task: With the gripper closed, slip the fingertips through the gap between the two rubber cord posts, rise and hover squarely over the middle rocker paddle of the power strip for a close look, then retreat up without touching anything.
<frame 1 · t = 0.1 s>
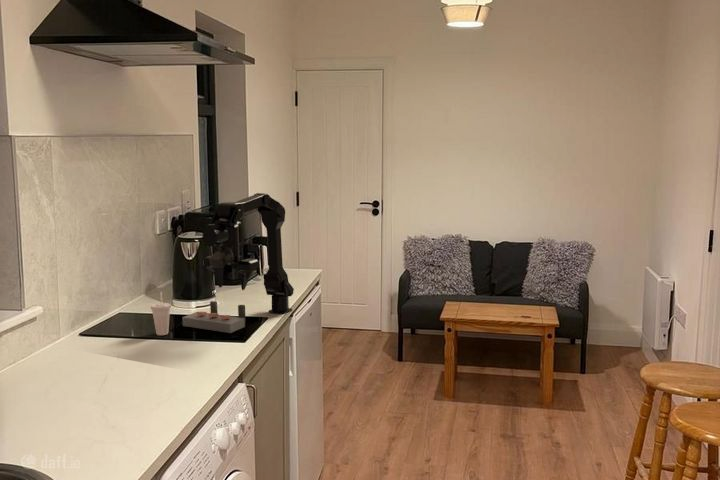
hand: (231, 288, 233), 15 cm above the worktop, fingers open, 9 cm apart
smoothie: (162, 334, 234), on the worktop
cord post 1: (214, 318, 251), on the worktop
cord post 2: (242, 322, 246), on the worktop
paddle right: (225, 316, 239), point 4 cm above the worktop, hinge at -10.0°
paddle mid: (213, 315, 241), point 4 cm above the worktop, hinge at -10.0°
paddle left: (201, 313, 243), point 4 cm above the worktop, hinge at -10.0°
power strip: (213, 326, 242), on the worktop
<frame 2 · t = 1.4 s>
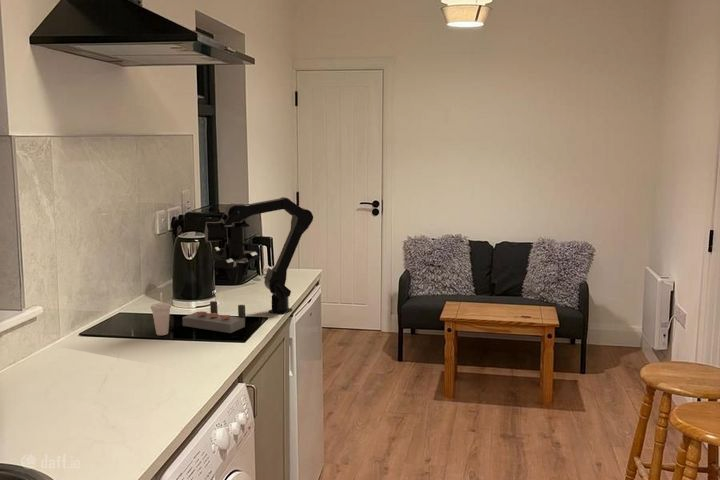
hand: (237, 283, 252), 12 cm above the worktop, fingers open, 3 cm apart
nothing on the worktop moved.
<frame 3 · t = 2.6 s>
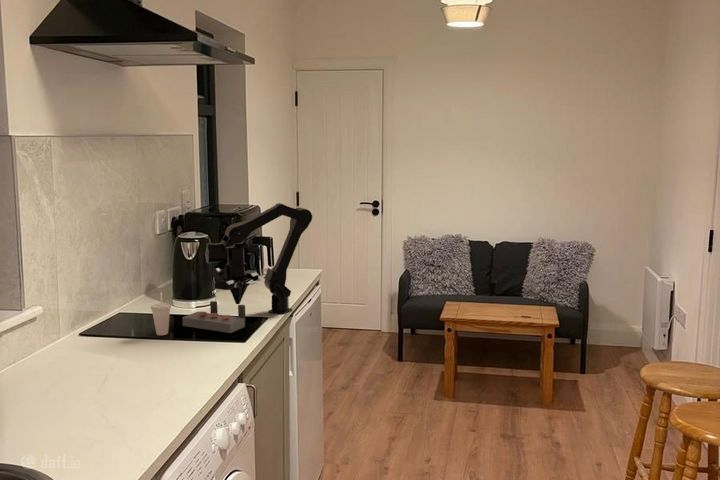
hand: (237, 303, 253), 5 cm above the worktop, fingers closed
nothing on the worktop moved.
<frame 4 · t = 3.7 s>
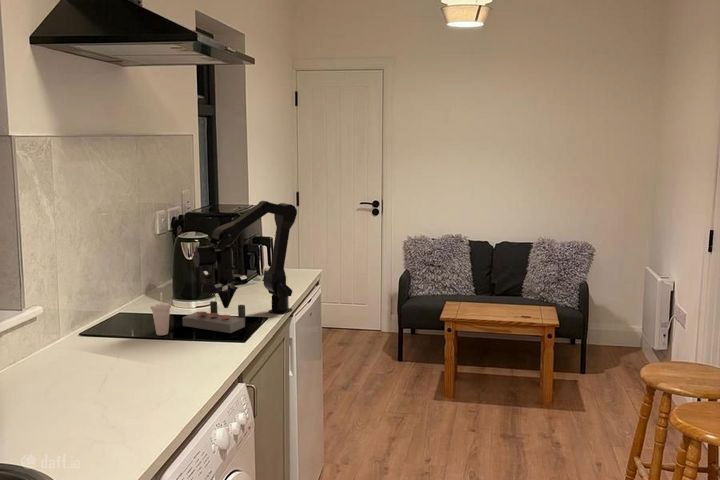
hand: (225, 307, 247), 5 cm above the worktop, fingers closed
nothing on the worktop moved.
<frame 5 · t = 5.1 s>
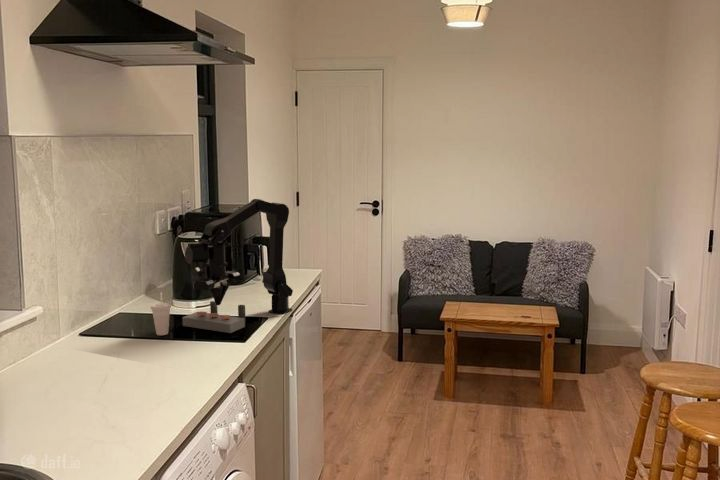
hand: (218, 305, 243), 7 cm above the worktop, fingers closed
nothing on the worktop moved.
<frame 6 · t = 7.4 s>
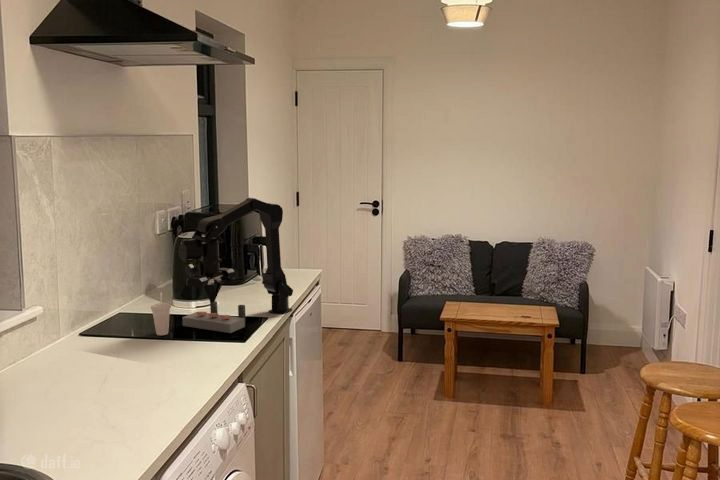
hand: (212, 302, 240), 8 cm above the worktop, fingers closed
nothing on the worktop moved.
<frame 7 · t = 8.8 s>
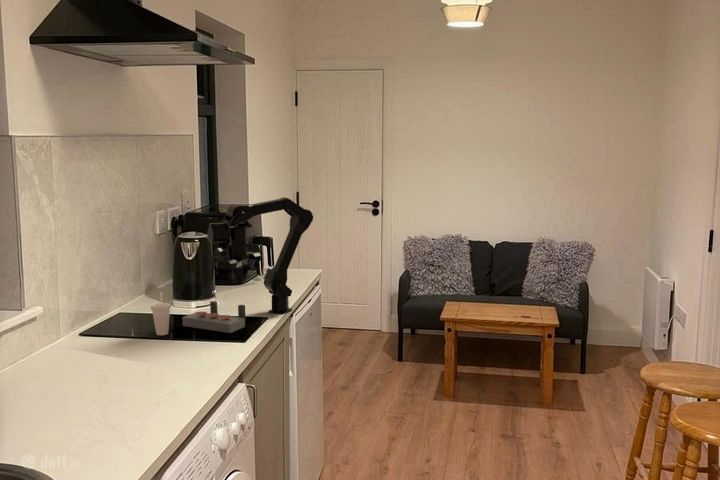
hand: (240, 284, 250), 12 cm above the worktop, fingers closed
nothing on the worktop moved.
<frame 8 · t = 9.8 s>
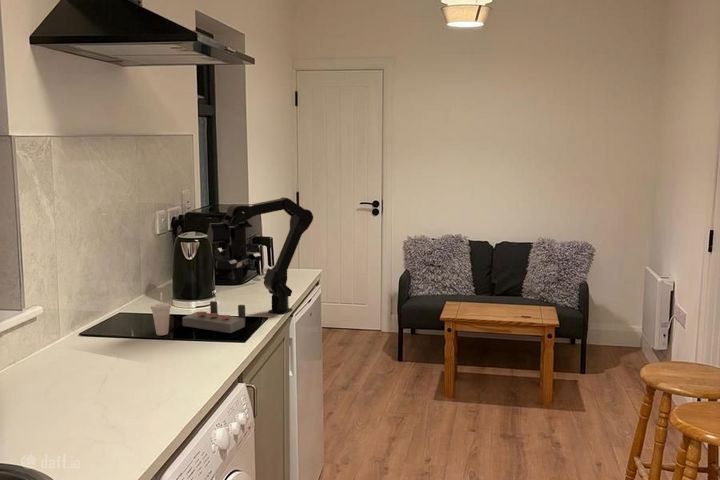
hand: (240, 284, 250), 12 cm above the worktop, fingers closed
nothing on the worktop moved.
at the end: cord post 2 moved 0.0 cm from its start; cord post 1 moved 0.0 cm from its start; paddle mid at -10° (first picture: -10°) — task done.
